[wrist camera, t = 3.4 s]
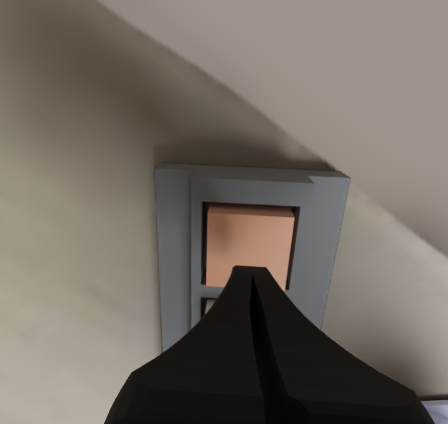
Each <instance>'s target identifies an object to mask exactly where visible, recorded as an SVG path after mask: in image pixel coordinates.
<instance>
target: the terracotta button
mask: <svg viewBox="0 0 448 424" xmlns="http://www.w3.org/2000/svg"><path fill="white" fill-rule="evenodd" d="M294 219H295V217H294V215H293V213H292V211H291V209H290V207H289V206H277V205H258V204H239V203H219V202H211V203H210V207H209V210H208V222H207V271H206V286H212V287H225V285H226V283H227V281H228V279H229V277H230V275H231V272H232V268H233V267H234V266H235V265H240V266H257V267H267V268H268V270H269V271H270V273H271V274H272V276H273V277H274V279H275V280H276V282H277V283H278V284H279V286H280V287H281V288H282V290H283V291H285V286H286V278H287V271H288V263H289V256H290V248H291V241H292V233H293V226H294Z"/></svg>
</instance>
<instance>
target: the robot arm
mask: <svg viewBox="0 0 448 424" xmlns="http://www.w3.org/2000/svg"><path fill="white" fill-rule="evenodd" d="M104 424H448V400H434V401H420V399H419V398H418V397H417V395H416V394H415V392H414V391H412V390H411V389H409V388H407V387H405V386H403V385H402V384H400V383H398V382H396V381H394V380H393V379H391V378H389V377H387V376H385V375H384V374H382V373H380V372H378V371H377V370H375V369H373V368H372V367H370V366H369V365H367V364H366V363H364V362H362V361H361V360H359V359H358V358H356V357H355V356H353V355H352V354H350V353H349V352H348V351H346V350H345V349H343V348H342V347H341V346H339V345H338V344H337V343H336V342H334V341H333V340H332V339H330V338H329V337H328V336H327V335H325V334H324V333H323V332H322V331H321V330H319V329H318V328H317V327H316V326H315V325H314V324H313V323H312V322H311V321H310V320H309V319H307V318H306V317H305V316H304V315H303V313H302V312H301V311H300V310H299V309H298V308H297V307H296V306H295V305H294V303H293V302H292V301H291V300H290V299H289V297H288V296H287V295H286V294H285V292H284V291H283V290H282V288H281V287H280V286H279V284H278V283H277V282H276V280H275V279H274V277H273V276H272V274H271V273H270V271H269V270H268V268H267V267H257V266H240V265H235V266H234V267H233V268H232V272H231V275H230V277H229V279H228V281H227V283H226V285H225V287H224V288H223V290H222V292H221V293H220V295H219V297H218V298H217V299H216V301H215V302H214V304H213V305H212V306H211V308H210V309H209V310H208V311H207V313H206V314H205V315H204V316H203V317H202V318H201V320H200V321H199V322H198V323H197V324H196V325H195V326H194V327H193V328H192V329H191V330H190V331H189V332H188V333H187V334H185V335H184V336H183V337H182V338H181V339H180V340H179V341H177V342H176V343H175V344H173V345H172V346H171V347H170V348H168V349H167V350H166V351H164V352H163V353H162V354H160V355H159V356H158V357H156V358H154V359H153V360H151V361H150V362H148V363H146V364H145V365H143V366H141V367H140V368H138V369H136V370H135V371H133V372H132V373H131V374H130V376H129V377H128V379H127V380H126V382H125V384H124V385H123V387H122V389H121V390H120V392H119V394H118V396H117V397H116V399H115V401H114V403H113V405H112V407H111V409H110V411H109V413H108V416H107V418H106V421H105V423H104Z"/></svg>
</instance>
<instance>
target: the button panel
mask: <svg viewBox="0 0 448 424" xmlns="http://www.w3.org/2000/svg"><path fill="white" fill-rule="evenodd" d="M154 173H155V195H156V216H157V238H158V260H159V281H160V303H161V325H162V346H163V352H164V351H166V350H167V349H168V348H170V347H171V346H172V345H173V344H175V343H176V342H177V341H179V340H180V339H181V338H182V337H183V336H184V335H185V334H187V333H188V332H189V331H190V330H191V329H192V328H193V327H194V326H195V325H196V324H197V323H198V322H199V321H200V320H201V318H202V317H203V316H204V315H205V311H206V305H207V300H216V299H217V298H218V297H219V295H220V293H221V292H222V290H223V288H224V287H212V286H206V271H207V222H208V210H209V207H210V203H211V202H219V203H239V204H258V205H277V206H289V207H290V209H291V211H292V213H293V215H294V217H295V219H294V226H293V233H292V241H291V248H290V256H289V263H288V271H287V278H286V286H285V291H284V292H285V294H286V295H287V296H288V297H289V299H290V300H291V301H292V302H293V303H294V305H295V306H296V307H297V308H298V309H299V310H300V311H301V312H302V313H303V315H304V316H305V317H306V318H307V319H309V320H310V321H311V322H312V323H313V324H314V325H315V326H316V327H317V328H318V329H319V330H321V326H322V321H323V316H324V311H325V306H326V301H327V296H328V291H329V286H330V281H331V276H332V270H333V265H334V260H335V255H336V250H337V245H338V240H339V235H340V230H341V225H342V220H343V215H344V209H345V204H346V199H347V194H348V189H349V184H350V179H351V178H350V177H348V176H347V175H345V174H344V173H342V172H340V171H320V170H299V169H278V168H258V167H237V166H216V165H195V164H175V163H161V164H159V165H158V166H157V167H155V168H154Z"/></svg>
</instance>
